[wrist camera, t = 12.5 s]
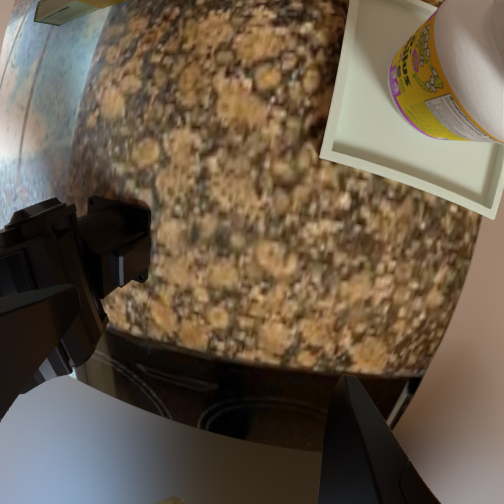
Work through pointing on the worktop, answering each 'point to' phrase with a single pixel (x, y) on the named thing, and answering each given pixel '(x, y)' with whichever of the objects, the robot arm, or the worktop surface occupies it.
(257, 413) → the worktop surface
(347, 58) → the tray
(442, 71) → the supplement bottle
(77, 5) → the medication box
